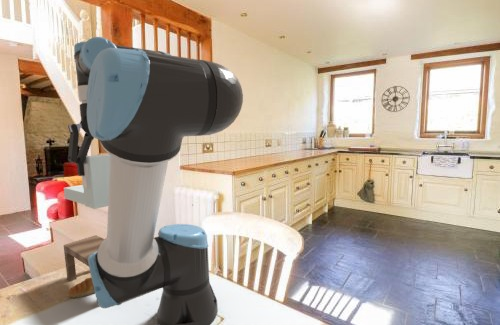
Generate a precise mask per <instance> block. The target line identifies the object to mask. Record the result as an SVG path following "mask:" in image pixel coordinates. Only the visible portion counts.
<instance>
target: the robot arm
mask: <svg viewBox="0 0 500 325" xmlns="http://www.w3.org/2000/svg"><path fill="white" fill-rule="evenodd" d="M73 47H74V48H73V49H74V51H73V52H74V55H73V59H74V62H75V71H76V72H75V73H76V80H77V92H78V101H79V102H80V104H79V112H80V113H79V114H80V122H79V123H73V124H72V123H70V124H68V125H67V126H68V131H69V143H68V155H67V160H68V162H70V163H74V164H76V171H77V175H78V176H80V177H81V182H82V184H81V185H83V187H85V188H90V183H89V173H88V164H86V163H84V161H85V159H86V156H88V153H89V150H90V147H91V145H92V142H93V140H94V139H97V140H99V142H100V145H101V147H102V149H104V151H105V152H106V153H108V154H110V155H111V162H110V182H109V203H108V206H107V207H108V208H107V226H106V227H107V228H106V238H103V239H104V241H103V242H102V243H101V245H100V247H99V249H98V251H97V252H95V253H93V254H91V255H89V257H88V263H89V266H88V268H89V274H90V278H92V282H93V285H94V290H95V293H94V294H95V298H96V303H97V302H98V304H97V305H98V306H99V307H100V308H101V309H109V308H111V307H115V306H120V305H122V304H124V303H126V302H129V301H131V300H134V299H136V298H140V297H141V296H144V295H148V294H149V293H153V292H154V291H155V292H156V291H157V290H160V289H162V293H161V298H160V302H159V306H158V308H157V313H156V314H157V324H158V325H211V323H213V322H214V320H215V319H216V317H217V315H218V311H219V310H218V309H219V308H218V299H217V297H216V294H215V293H214V289H213V287H212V285H211V283H210V270H209V268H210V267H209V243H208V237H207V235H208V234H207V232H206V230H205V229H203V228H202V227H200V226H198V225H194V224H189V223H188V224H187V223H175V224H168V225H165V226H162V227H160V228H159V230H158V233H157V235H158V236H156V237H154V236H155V232H156V227H157V222H158V217H159V212H160V206H161V200H162V194H163V190H164V184H165V180H166V179H165V178H166V173H167V168H168V163H169V161H171V160H173V159H174V158H176V157H177V156H179V153H180V151H181V148H182V147H181V146H182V142H183V139H184V137H199V136H200V137H202V136H211V135H214V134H217V133H221V132H223V131H224V130H226V129H228V128H229V127H230V126H231V125H232V124H233V123H234V122H235V121H236V119H237V118H238V116H239V114H240V112H241V111H242V107H243V102H244V95H243V89H242V85H241V83H240V81H239V79H238V77H237V76H236V75H235V74H234V72H232V71H231V69H229V68H228V67H225V65H222V64H219V63H216V62H215V61H214V62H213V61H211V60H204V59H195V58H190V57H189V58H188V57H183V56H176V55H172V54H171V53H169V52H164V51H160V50H150V49H144V48H137V47H132V46H126V45H119V44H115V43H114V42H112V41H111V40H109V39H108V38H105V37H103V36H102V37H101V36H95V37H91V38H89V39H87V40H86V41H80V42H77V43H75V44H74V46H73ZM81 129H82V130H83V131H84V136H83V140H82V143H81V146H80V148H79V150H78V147H79V137H80V136H79V135H80V134H79V132H80V131H81Z"/></svg>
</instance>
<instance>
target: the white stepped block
mask: <svg viewBox="0 0 500 325" xmlns="http://www.w3.org/2000/svg"><path fill="white" fill-rule="evenodd" d="M110 162H111V155H110V154H109V153H108V154H97V155H96V154H95V155H87V156H86V159H85V161H84V163H86V164H88V173H89V183H90V188H85V187H83V184H80V185H79V184H78V185H74V186H73V185H72V186H67V187H63V193H64V194H63V195H64V200H65V199H66V200H68V201H72V202H74V203H78V204H81V205H84V206H85V207H87V208H90V209H93V210H96V209H100V208H106V207H108V203H109V182H110Z"/></svg>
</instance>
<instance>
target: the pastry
mask: <svg viewBox="0 0 500 325" xmlns="http://www.w3.org/2000/svg"><path fill="white" fill-rule="evenodd" d="M67 293H68V294H67V295H68V296H69V298H72V299H76V298H81V297H87V296H89V295H92V294H95V290H94V285H93V282H92V278H91V277H87V278H85V279H84V280H82V281H81V282H79V283H77V284H75V285H74V286H72V287H71V288H70V289H69V290H68V292H67Z"/></svg>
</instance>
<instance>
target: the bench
mask: <svg viewBox="0 0 500 325" xmlns="http://www.w3.org/2000/svg"><path fill="white" fill-rule="evenodd" d="M104 239H105V238H103V237H100V236H98V235H92V236H89V237H85V238H82V239H79V240H76V241H71V242H69V243H65V244H63V252H64V261H65V271H66V277H67V278H66V279H67V281H68V282H72V281H74V280H77V271H76V270H77V269H76V263H75V262H76V260H78V261H79V262H81V263H82V264H84V265H85V266H87V267H89V263H88V257H89V255H91V254H93V253H95V252H97V251H98V249H99V247H100V245H101V243H102V242H103V241H104ZM96 304H97V305H98V302H97V301H96Z"/></svg>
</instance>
